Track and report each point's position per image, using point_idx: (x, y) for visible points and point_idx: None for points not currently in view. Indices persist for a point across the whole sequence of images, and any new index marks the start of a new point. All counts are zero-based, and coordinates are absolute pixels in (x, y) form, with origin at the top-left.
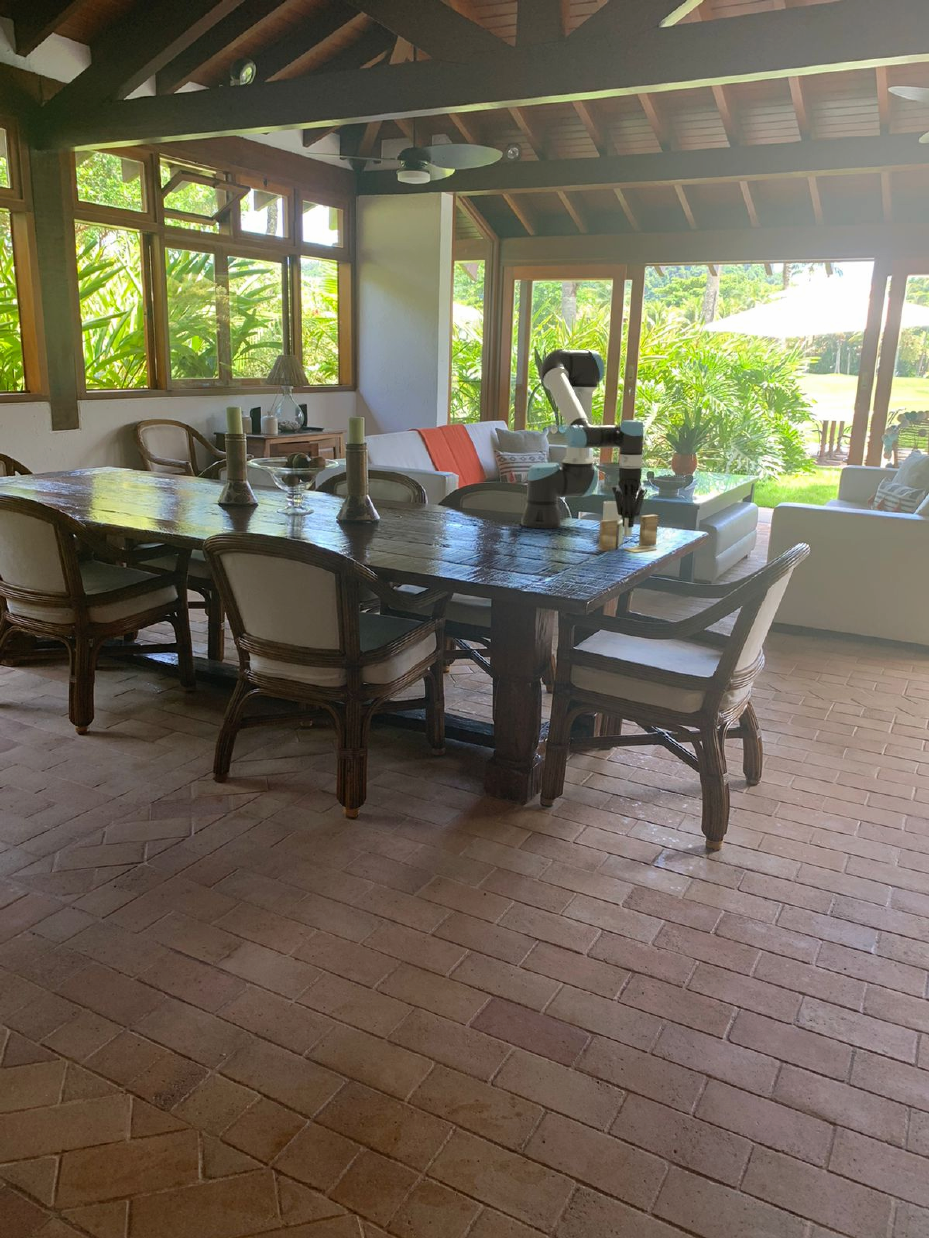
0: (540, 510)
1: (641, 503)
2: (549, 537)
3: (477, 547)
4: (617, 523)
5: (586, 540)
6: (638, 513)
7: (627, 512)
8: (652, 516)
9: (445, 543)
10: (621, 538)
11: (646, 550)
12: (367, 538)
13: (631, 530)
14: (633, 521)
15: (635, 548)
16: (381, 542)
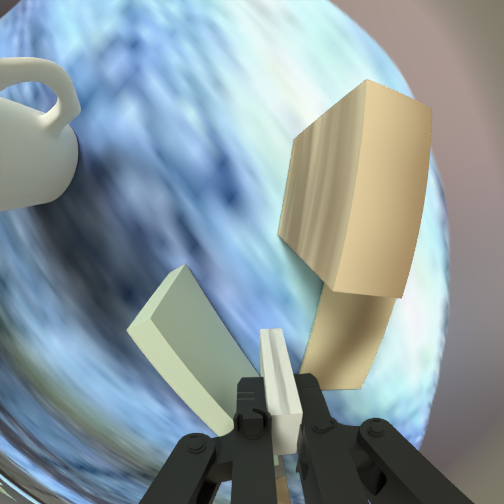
0: None
1: (453, 499)
2: (14, 376)
3: (87, 499)
4: None
5: (74, 345)
6: (390, 440)
7: (258, 459)
8: (424, 196)
9: (51, 489)
10: (215, 326)
11: (382, 335)
12: (18, 484)
13: (286, 348)
14: (324, 402)
15: (334, 349)
16: (39, 496)
